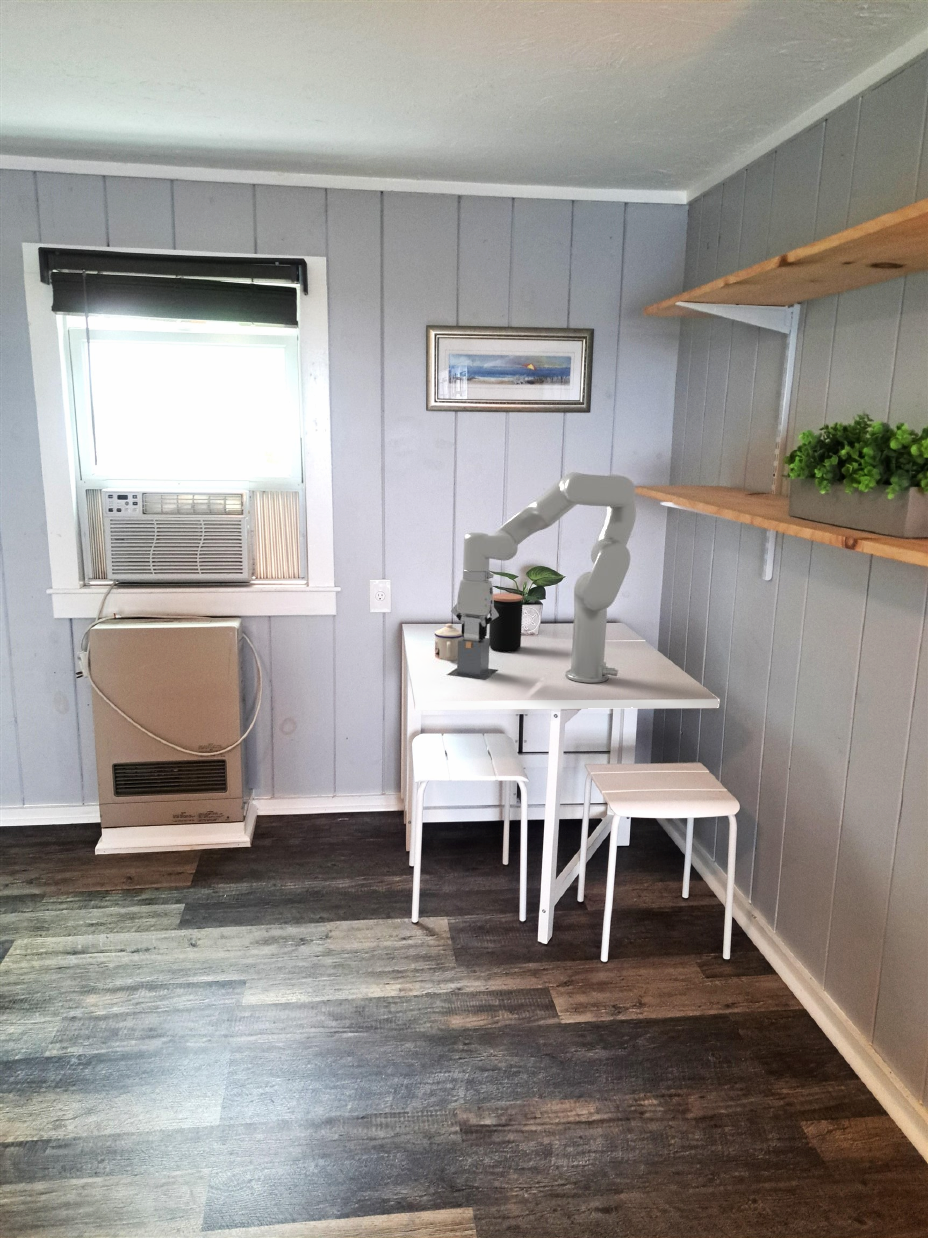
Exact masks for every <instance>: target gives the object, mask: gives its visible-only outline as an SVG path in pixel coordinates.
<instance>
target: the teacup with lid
mask: <svg viewBox="0 0 928 1238" xmlns="http://www.w3.org/2000/svg"><path fill="white" fill-rule="evenodd" d="M434 636H435V637H434V658H435V659H438V660H441V661H457V656H458V640H460V639H462V638H463V634H462V633H461V630H460V629H457V628H456V627H454V626H453V624H452V623H446V624H445V626H444V627H442V628H441V629H440V628H439V629H437V630H436V631H435V632H434Z"/></svg>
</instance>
